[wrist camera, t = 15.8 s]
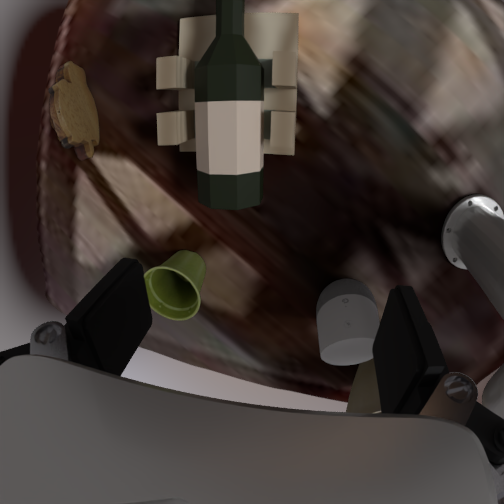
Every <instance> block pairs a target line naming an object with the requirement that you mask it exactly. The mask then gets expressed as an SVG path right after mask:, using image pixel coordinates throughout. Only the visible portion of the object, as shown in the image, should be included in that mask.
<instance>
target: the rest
mask: <svg viewBox="0 0 504 504" xmlns="http://www.w3.org/2000/svg"><path fill="white" fill-rule="evenodd" d="M215 37H216V15H208V16H199V17H191V18H183V19H180V35H179V56H169V57H161V58H157V74H156V89H163V90H179V111H171V112H163V113H157V134H158V145H178V144H180V152H185V151H196V131H195V80H194V69H195V67H196V66H197V64H198V63H199V61H200V60H201V58H202V56H203V55H204V53H205V52H206V50H207V49H208V47H209V46H210V44H211V43H212V41H213V40H214V38H215ZM244 37H245V39H246V41H247V42H248V44H249V45H250V47H251V48H252V50H253V52H254V53H255V55H256V56H257V58H258V60H259V61H260V63H261V65H262V66H263V68H264V152H263V153H267V154H283V155H294V146H295V125H296V101H297V70H298V13H244Z"/></svg>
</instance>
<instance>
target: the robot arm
mask: <svg viewBox="0 0 504 504" xmlns="http://www.w3.org/2000/svg"><path fill="white" fill-rule="evenodd" d="M441 243H442V248H443V251H444V253H445V255H446V257H447V258H448V260H449V261H450V262H451V263H452V264H453V265H455V266H456V267H458V268H461V269H468V270H469V272H470V273H471V274H472V276H473V277H474V278H475V280H476V281H477V282H478V284H479V285H480V287H481V288H482V289H483V291H484V292H485V294H486V295H487V296H488V298H489V299H490V301H491V302H492V304H493V305H494V307H495V308H496V309H497V311H498V312H499V314H500V315H501V317H502V318H503V319H504V215H503V212H502V210H501V208H500V206H499V205H498V204H497V203H496V202H495V201H494V200H493V199H491V198H490V197H488V196H485V195H481V194H474V195H470V196H467V197H465V198H463V199H462V200H460V201H459V202H458V203H457V204H456V205H455V206H454V207H453V208H452V209H451V211H450V212H449V214H448V215H447V217H446V219H445V222H444V225H443V228H442V234H441ZM65 319H66V322H67V323H66V324H65V325H63V324H62V323H60V322H57V321H50V322H46V323H43V324H41V325H40V326H38V327H37V328H36V329H35V330H34V331H33V333H32V334H31V339H30V343H28V344H24V345H21V346H18V347H15V348H12V349H8V350H6V351H2V352H0V504H504V363H503V365H502V366H501V367H500V368H499V369H498V371H497V372H496V373H495V374H494V375H493V376H492V378H491V379H490V380H489V381H488V383H487V385H486V387H485V388H484V391H483V395H482V405H481V404H480V403H478V402H477V397H478V390H477V387H476V385H475V383H474V382H473V381H472V379H470V378H469V377H468V376H466V375H464V374H462V373H457V372H452V373H449V370H448V368H447V365H446V362H445V359H444V357H443V354H442V351H441V349H440V346H439V344H438V341H437V339H436V336H435V334H434V331H433V329H432V327H431V325H430V323H428V321H427V319H426V317H425V314H424V312H423V310H422V307H421V305H420V303H419V301H418V298H417V296H416V294H415V292H414V290H413V288H412V287H411V286H401V285H397V286H396V287H395V289H391V290H390V293H389V296H388V300H387V303H386V306H385V310H384V313H383V316H382V319H381V322H380V325H379V328H378V331H377V334H376V337H375V340H374V343H373V348H372V353H373V359H374V365H375V371H376V377H377V384H378V390H379V398H380V405H381V413H346V412H326V411H311V410H299V409H287V408H278V407H270V406H262V405H254V404H247V403H241V402H234V401H228V400H222V399H216V398H211V397H205V396H200V395H195V394H190V393H185V392H181V391H176V390H172V389H167V388H163V387H159V386H155V385H151V384H147V383H143V382H139V381H135V380H132V379H128V378H125V377H121V374H122V372H123V371H124V369H125V368H126V366H127V364H128V363H129V361H130V359H131V358H132V356H133V354H134V353H135V351H136V349H137V348H138V346H139V344H140V343H141V341H142V340H143V338H144V336H145V335H146V333H147V332H148V330H149V328H150V327H151V324H152V314H151V309H150V304H149V299H148V294H147V289H146V284H145V278H144V272H143V267H142V264H140V263H139V262H138V260H137V259H130V258H123V259H121V260H120V261H119V262H118V263H117V264H116V265H115V266H114V267H113V268H112V269H111V270H110V271H109V272H108V273H107V274H106V275H105V276H104V277H103V278H102V279H101V280H100V281H99V282H98V283H97V284H96V285H95V287H94V288H93V289H92V290H91V291H90V292H89V293H88V294H87V295H86V296H85V297H84V298H83V299H82V300H81V301H80V302H79V303H78V304H77V306H76V307H75V308H74V309H73V310H72V311H71V312H70V313H69V314H68V315H67V316H66V318H65Z"/></svg>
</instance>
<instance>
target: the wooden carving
mask: <svg viewBox="0 0 504 504" xmlns="http://www.w3.org/2000/svg"><path fill="white" fill-rule="evenodd" d="M49 93H50V94H51V96H50V100H49V105H50V120H51V126H52V127H53V128H54V129H55V131H56V133H57V135H58V139H59V140H60V141H61V142H62V146H63V147H64V148H71V147H73V146H74V148H75V152H76V154H77V157H78V158H79V159H80V160H84V159H86V158H91V157H93V155H94V147H93V146H96V145H98V144H99V120H98V114H97V109H96V106H95V102H94V99H93V97H92V94H91V92H90V90H89V88H88V86H87V84H86V75H85V72H84V69H82V68H81V67H78V66H77V65H75V64H74V63H73V62H72V61H68V62H67V63H65V64H64V65H62V66H60V67H59V68H58V72H57V73H56V84H54V85H53V86H52V87H50V88H49Z"/></svg>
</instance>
